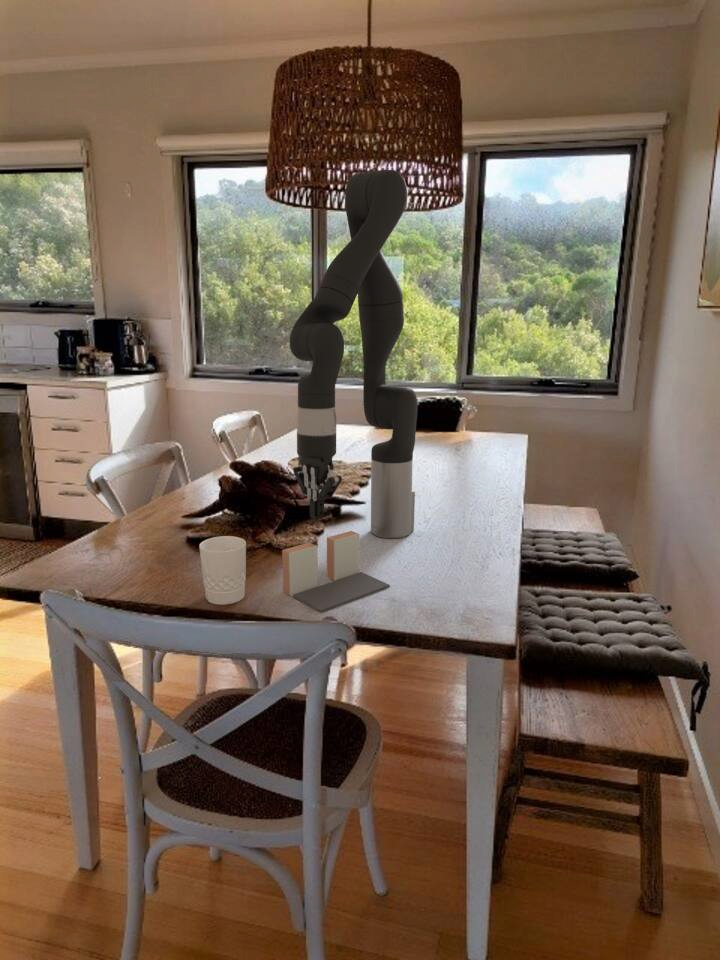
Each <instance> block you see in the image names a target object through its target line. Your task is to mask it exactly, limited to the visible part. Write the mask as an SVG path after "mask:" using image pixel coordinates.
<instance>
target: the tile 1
mask: <svg viewBox="0 0 720 960" xmlns="http://www.w3.org/2000/svg"><path fill="white" fill-rule="evenodd" d="M318 553H319V552H318V545H316V544H314V543H311V542H307V543H302V544H299V545H295V546H292V547H288V548H284V549H282V550H281V554H282V555H281V557H282V560H281V561H282V586H283V587H282V590H283V592H284V593H285V594H287V595H288V596H290V597H293V595H294V594H297V593H300V592H303V591H306V590H309V589H312V588H315V587H318V586H319V570H318V569H319V565H318V564H319V563H318V561H319V557H318V555H319V554H318Z"/></svg>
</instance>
